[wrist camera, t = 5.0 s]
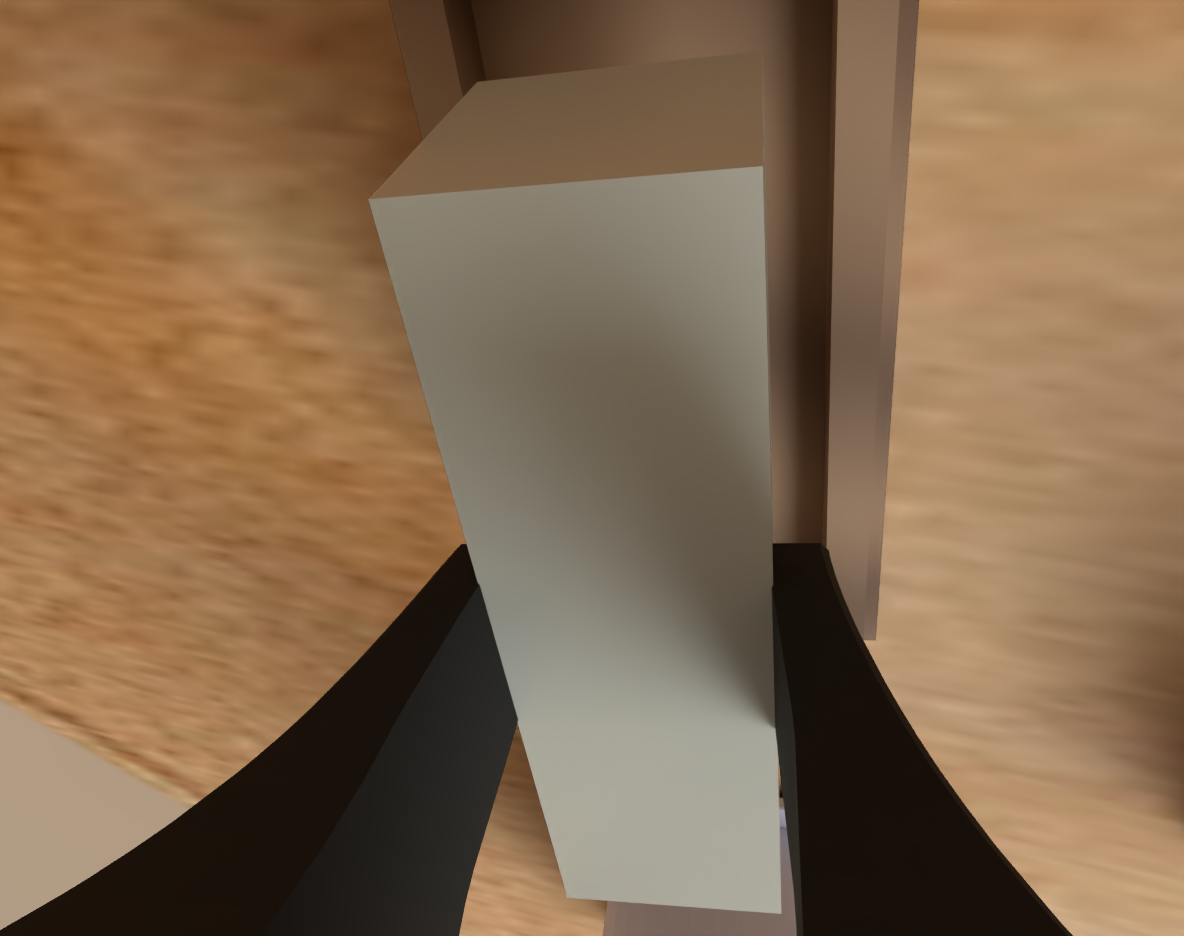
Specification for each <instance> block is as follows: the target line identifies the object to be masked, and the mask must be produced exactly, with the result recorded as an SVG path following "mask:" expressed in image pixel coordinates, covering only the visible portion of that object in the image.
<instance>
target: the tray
mask: <svg viewBox="0 0 1184 936" xmlns="http://www.w3.org/2000/svg"><path fill="white" fill-rule="evenodd" d="M389 3H390V7H391V11H392V16H393V20H394V24H395V28H396V32H397V37H398V41H399V45H400V49H401V53H402V58H403V62H404V66H405V70H406V74H407V79H408V83H409V87H410V91H411V95H412V100H413V104H414V108H415V112H416V116H417V121H418V125H419V129H420V133H421V137H422V141H423V140H424V139H425V138H426V137H427V135H428V134H429V133H430V132H431V131H432V130H433V129H434V128H435V127H436V126H437V125H438V124H439V123H440V121H441V120H442V119H443V118H444V117H445V116H446V115H447V114H448V113H449V112H450V111H451V110H452V109H453V107H454V106H455V105H456V104H457V103H458V102H459V101H460V100H461V99H462V98H463V97H464V96H465V95H466V93H467V92H468V91H469V90H470V89H471V88H472V87H473V86H474V85H475V84H476V83H477V82H481V81H490V80H499V79H508V78H517V77H526V76H536V75H545V74H554V73H563V72H572V71H582V70H591V69H600V68H609V67H618V66H628V65H637V64H646V63H655V62H664V61H674V60H683V59H692V58H701V57H710V56H720V55H729V54H738V53H747V52H756V51H762V52H763V94H764V137H765V180H766V223H767V266H768V308H769V351H770V394H771V437H772V479H773V522H774V543H821V544H822V545H823V546H824V547H826V548H827V549H828V550H829V553H830V558H831V562H832V565H833V569H834V572H835V575H836V578H837V581H838V584H839V586H840V589H841V591H842V594H843V597H844V599H845V601H846V604H847V606H848V608H849V611H850V613H851V615H852V617H853V620H854V622H855V624H856V626H857V628H858V631H859V633H860V635H861V637H862V639H863V640H876V629H877V614H878V600H879V585H880V570H881V555H882V540H883V526H884V511H885V496H886V481H887V467H888V452H889V437H890V422H891V407H892V393H893V378H894V363H895V348H896V333H897V319H898V304H899V289H900V274H901V259H902V245H903V230H904V215H905V200H906V185H907V171H908V156H909V141H910V126H911V111H912V97H913V82H914V67H915V52H916V37H917V23H918V8H919V0H389Z"/></svg>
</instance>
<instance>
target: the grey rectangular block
mask: <svg viewBox="0 0 1184 936" xmlns="http://www.w3.org/2000/svg"><path fill="white" fill-rule="evenodd" d="M368 200H369V204H370V207H371V211H372V214H373V218H374V221H375V225H376V228H377V232H378V235H379V239H380V242H381V246H382V249H383V253H384V256H385V260H386V263H387V267H388V270H389V274H390V277H391V281H392V284H393V288H394V291H395V295H396V298H397V302H398V305H399V309H400V312H401V316H402V319H403V323H404V326H405V330H406V333H407V337H408V340H409V344H410V347H411V351H412V354H413V358H414V361H415V365H416V368H417V372H418V375H419V379H420V382H421V386H422V389H423V393H424V396H425V400H426V403H427V407H428V410H429V414H430V417H431V421H432V424H433V428H434V431H435V435H436V438H437V442H438V445H439V449H440V452H441V456H442V459H443V463H444V466H445V470H446V473H447V477H448V480H449V484H450V487H451V491H452V495H453V498H454V502H455V505H456V509H457V512H458V516H459V519H460V523H461V526H462V530H463V533H464V537H465V540H466V544H467V547H468V551H469V554H470V558H471V561H472V565H473V568H474V572H475V575H476V579H477V582H478V584H480V587H481V591H482V594H483V598H484V601H485V605H486V608H487V612H488V615H489V619H490V622H491V626H492V630H493V633H494V637H495V640H496V644H497V647H498V651H499V654H500V658H501V661H502V665H503V668H504V672H505V675H506V679H507V682H508V686H509V689H510V693H511V696H512V700H513V703H514V707H515V710H516V714H517V717H518V726H519V729H520V733H521V736H522V740H523V743H524V747H525V750H526V754H527V757H528V761H529V764H530V768H531V771H532V775H533V778H534V782H535V785H536V789H537V792H538V796H539V799H540V803H541V806H542V810H543V813H544V817H545V820H546V824H547V827H548V831H549V834H550V838H551V841H552V845H553V848H554V852H555V855H556V859H557V862H558V866H559V869H560V873H561V876H562V880H563V883H564V887H565V890H566V894H567V897H568V898H577V899H590V900H603V901H617V902H630V903H643V904H657V905H670V906H683V907H697V908H710V909H723V910H736V911H750V912H763V913H776V914H781V861H780V803H779V758H778V749H777V740H776V731H775V699H774V660H773V621H772V586H773V543H774V522H773V479H772V437H771V394H770V351H769V308H768V266H767V223H766V180H765V137H764V94H763V52H762V51H756V52H747V53H738V54H729V55H720V56H710V57H701V58H692V59H683V60H674V61H664V62H655V63H646V64H637V65H628V66H618V67H609V68H600V69H591V70H582V71H572V72H563V73H554V74H545V75H536V76H526V77H517V78H508V79H499V80H490V81H481V82H477V83H476V84H475V85H474V86H473V87H472V88H471V89H470V90H469V91H468V92H467V93H466V95H465V96H464V97H463V98H462V99H461V100H460V101H459V102H458V103H457V104H456V105H455V106H454V107H453V109H452V110H451V111H450V112H449V113H448V114H447V115H446V116H445V117H444V118H443V119H442V120H441V121H440V123H439V124H438V125H437V126H436V127H435V128H434V129H433V130H432V131H431V132H430V133H429V134H428V135H427V137H426V138H425V139H424V140H423V141H422V142H421V143H420V144H419V145H418V146H417V147H416V148H415V149H414V151H413V152H412V153H411V154H410V155H409V156H408V157H407V158H406V159H405V160H404V161H403V162H402V163H401V165H400V166H399V167H398V168H397V169H396V170H395V171H394V172H393V173H392V174H391V175H390V176H389V177H388V179H387V180H386V181H385V182H384V183H383V184H382V185H381V186H380V187H379V188H378V189H377V190H376V191H375V193H374V194H373V195H372V196H371V197H370V198H369V199H368Z"/></svg>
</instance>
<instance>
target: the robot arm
mask: <svg viewBox="0 0 1184 936" xmlns="http://www.w3.org/2000/svg"><path fill="white" fill-rule="evenodd" d="M772 621H773V660H774V699H775V731H776V740H777V749H778V758H779V767H780V775H781V784H782V793H783V798H779V803H780V861H781V914H776V913H763V912H750V911H736V910H723V909H710V908H697V907H683V906H670V905H657V904H643V903H630V902H617V901H607V908H606V915H605V922H604V930H603V936H1073V935H1072V934H1071V933H1070V932H1069V931H1068V930H1067V929H1066V928H1065V927H1064V926H1063V925H1062V924H1061V922H1060V921H1059V920H1058V919H1057V918H1056V916H1055V915H1054V914H1053V913H1052V912H1051V911H1050V909H1049V908H1048V907H1047V906H1046V905H1045V903H1044V902H1043V901H1042V900H1041V899H1040V898H1039V896H1038V895H1037V894H1036V893H1035V892H1034V890H1033V889H1032V888H1031V887H1030V886H1029V885H1028V883H1027V882H1026V881H1025V880H1024V879H1023V877H1022V876H1021V875H1020V874H1019V873H1018V872H1017V870H1016V869H1015V868H1014V867H1013V866H1012V864H1011V863H1010V862H1009V861H1008V860H1007V859H1006V857H1005V856H1004V855H1003V854H1002V853H1001V851H1000V850H999V849H998V848H997V846H996V845H995V844H994V843H993V841H992V840H991V839H990V838H989V836H988V835H987V834H986V832H985V831H984V830H983V828H982V827H981V826H980V824H979V823H978V822H977V820H976V819H975V818H974V817H973V815H972V814H971V813H970V811H969V810H968V809H967V807H966V806H965V805H964V803H963V802H962V801H961V799H960V798H959V796H958V795H957V794H956V792H955V791H954V789H953V788H952V786H951V785H950V784H949V782H948V781H947V779H946V778H945V777H944V775H943V774H942V772H941V771H940V770H939V768H938V767H937V765H936V764H935V762H934V761H933V759H932V758H931V756H930V755H929V753H928V752H927V750H926V749H925V747H924V746H923V744H922V742H921V741H920V739H919V738H918V736H917V735H916V733H915V731H914V730H913V728H912V727H911V725H910V723H909V722H908V720H907V718H906V717H905V715H904V713H903V712H902V710H901V709H900V707H899V705H898V704H897V702H896V700H895V698H894V697H893V695H892V693H891V691H890V690H889V688H888V686H887V684H886V683H885V681H884V679H883V677H882V675H881V673H880V671H879V670H878V668H877V666H876V664H875V662H874V660H873V658H872V656H871V654H870V652H869V650H868V649H867V647H866V645H865V643H864V641H863V639H862V637H861V635H860V633H859V631H858V628H857V626H856V624H855V622H854V620H853V617H852V615H851V613H850V611H849V608H848V606H847V604H846V601H845V599H844V597H843V594H842V591H841V589H840V586H839V584H838V581H837V578H836V575H835V572H834V569H833V565H832V562H831V558H830V553H829V550H828V549H827V548H826V547H824V546H823V545H822V544H821V543H773V586H772ZM517 722H518V717H517V714H516V710H515V707H514V703H513V700H512V696H511V693H510V689H509V686H508V682H507V679H506V675H505V672H504V668H503V665H502V661H501V658H500V654H499V651H498V647H497V644H496V640H495V637H494V633H493V630H492V626H491V622H490V619H489V615H488V612H487V608H486V605H485V601H484V598H483V594H482V591H481V587H480V584H478V582H477V579H476V575H475V572H474V568H473V565H472V561H471V558H470V554H469V551H468V547H467V544H461V545H460V546H459V547H458V548H457V549H456V551H455V552H454V553H453V554H452V555H451V556H450V557H449V558H448V559H447V561H446V562H445V563H444V564H443V565H442V566H441V568H440V569H439V570H438V571H437V572H436V573H435V574H434V576H433V577H432V578H431V579H430V580H429V581H428V583H427V584H426V585H425V586H424V587H423V588H422V590H421V591H420V592H419V593H418V594H417V595H416V597H415V598H414V599H413V600H412V601H411V602H410V603H409V605H408V606H407V607H406V608H405V609H404V610H403V612H402V613H401V614H400V615H399V616H398V617H397V618H396V619H395V621H394V622H393V623H392V624H391V625H390V626H389V627H388V628H387V629H386V631H385V632H384V633H383V634H382V635H381V636H380V637H379V638H378V639H377V640H376V642H375V643H374V644H373V645H372V646H371V647H370V648H369V649H368V650H367V651H366V653H365V654H364V655H363V656H362V657H361V658H360V659H359V660H358V661H357V662H356V663H355V664H354V665H353V666H352V667H351V668H350V669H349V670H348V671H347V672H346V673H345V674H344V675H343V676H342V677H341V678H340V679H339V680H338V681H337V682H336V683H335V684H334V685H333V687H332V688H331V689H330V690H329V691H328V692H327V693H326V694H325V695H324V696H323V697H322V698H321V699H320V700H319V701H318V702H317V703H316V704H315V705H314V706H313V707H312V708H311V709H309V710H308V711H307V712H306V713H305V714H304V715H303V716H302V717H301V718H300V719H299V720H298V721H297V722H296V723H295V724H293V725H292V726H291V727H290V728H289V729H288V730H287V731H286V732H285V733H284V734H282V735H281V736H280V737H279V738H278V739H277V740H276V741H274V742H273V743H272V744H271V745H270V746H269V747H267V748H266V749H265V750H264V751H263V752H262V753H260V754H259V755H258V756H257V757H256V758H255V759H253V760H252V761H251V762H250V763H249V764H247V765H246V766H245V767H244V768H242V769H241V770H240V771H239V772H238V773H236V774H235V775H234V776H232V777H231V778H230V779H228V780H227V781H226V782H225V783H223V784H222V785H221V786H219V787H218V788H217V789H215V790H214V791H213V792H211V793H210V794H209V795H207V796H206V797H205V798H203V799H202V800H201V801H199V802H198V803H197V804H195V805H194V806H193V807H192V808H190V809H189V810H188V811H186V812H185V813H184V814H182V815H181V816H180V817H178V818H177V819H176V820H174V821H173V822H172V823H170V824H169V825H167V826H166V827H165V828H163V829H162V830H160V831H159V832H157V833H156V834H154V835H153V836H152V837H150V838H149V839H147V840H146V841H144V842H143V843H141V844H140V845H138V846H137V847H136V848H134V849H133V850H131V851H130V852H128V853H127V854H125V855H124V856H122V857H121V858H119V859H117V860H116V861H114V862H113V863H111V864H110V865H108V866H107V867H105V868H103V869H102V870H100V871H99V872H98V873H96V874H94V875H93V876H91V877H90V878H88V879H87V880H85V881H83V882H82V883H80V884H78V885H77V886H75V887H74V888H72V889H70V890H69V891H67V892H65V893H64V894H62V895H60V896H58V897H57V898H55V899H53V900H52V901H50V902H48V903H46V904H45V905H43V906H41V907H39V908H38V909H36V910H34V911H33V912H31V913H29V914H27V915H26V916H24V917H22V918H21V919H19V920H17V921H15V922H14V923H12V924H10V925H8V926H7V927H5V928H3V929H2V930H0V936H459V932H460V927H461V922H462V917H463V912H464V907H465V902H466V898H467V894H468V890H469V886H470V882H471V878H472V874H473V870H474V867H475V863H476V860H477V857H478V853H479V850H480V847H481V843H482V840H483V837H484V833H485V830H486V827H487V823H488V820H489V817H490V813H491V810H492V807H493V803H494V800H495V797H496V794H497V790H498V787H499V784H500V780H501V777H502V774H503V770H504V767H505V763H506V760H507V757H508V753H509V750H510V746H511V743H512V740H513V736H514V733H515V729H516V726H517Z"/></svg>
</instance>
